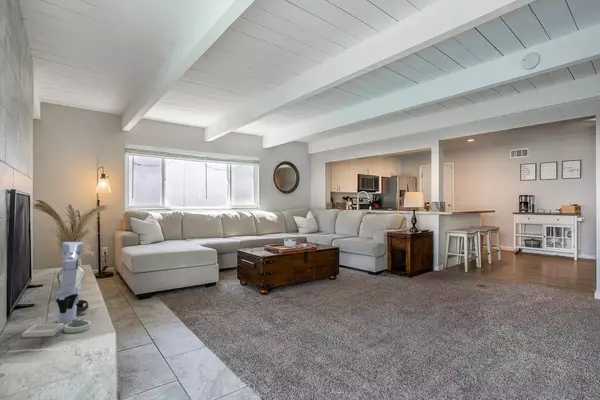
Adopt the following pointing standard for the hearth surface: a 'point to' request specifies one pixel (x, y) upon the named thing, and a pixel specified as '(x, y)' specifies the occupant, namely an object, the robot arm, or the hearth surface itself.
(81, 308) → the pottery mug
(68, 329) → the sage bowl
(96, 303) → the hearth surface
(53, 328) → the parts tray
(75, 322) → the grey short cylinder
